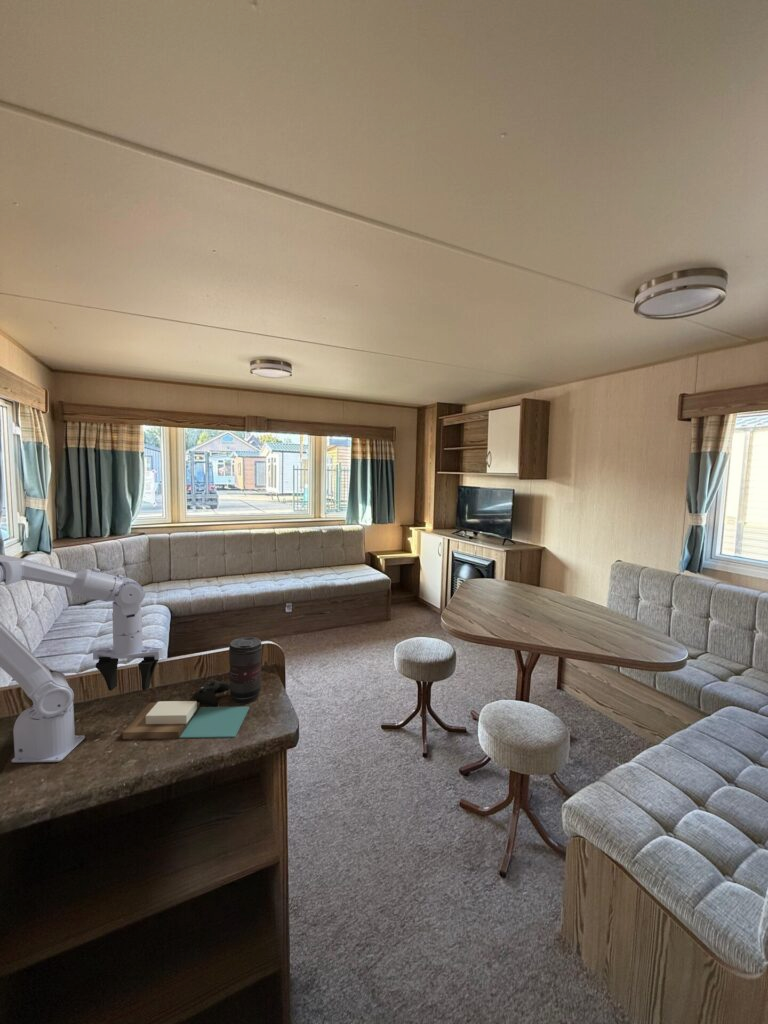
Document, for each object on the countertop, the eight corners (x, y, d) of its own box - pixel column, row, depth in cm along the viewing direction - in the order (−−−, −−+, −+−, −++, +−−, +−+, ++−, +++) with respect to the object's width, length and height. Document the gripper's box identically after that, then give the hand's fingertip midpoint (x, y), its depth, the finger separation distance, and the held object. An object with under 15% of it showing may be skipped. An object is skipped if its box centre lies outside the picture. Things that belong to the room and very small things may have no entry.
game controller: (217, 704, 105) (200, 687, 105) (203, 718, 105) (185, 702, 105) (232, 685, 114) (216, 670, 114) (218, 698, 115) (203, 683, 115)
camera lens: (261, 703, 107) (261, 646, 106) (227, 707, 105) (227, 649, 104) (262, 688, 115) (262, 634, 114) (231, 691, 113) (230, 637, 111)
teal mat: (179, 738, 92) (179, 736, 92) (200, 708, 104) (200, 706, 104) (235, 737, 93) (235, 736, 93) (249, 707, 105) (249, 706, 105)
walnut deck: (122, 738, 92) (122, 732, 92) (150, 708, 104) (149, 702, 104) (178, 738, 92) (178, 731, 92) (199, 708, 104) (199, 702, 104)
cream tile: (145, 724, 95) (145, 715, 95) (158, 709, 101) (158, 701, 101) (186, 723, 95) (186, 715, 95) (196, 709, 101) (196, 701, 101)
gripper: (168, 625, 100) (169, 679, 101) (105, 624, 99) (107, 679, 101) (153, 636, 93) (155, 694, 94) (86, 636, 92) (88, 695, 93)
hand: (129, 688), depth 97 cm, fingers open, 7 cm apart
